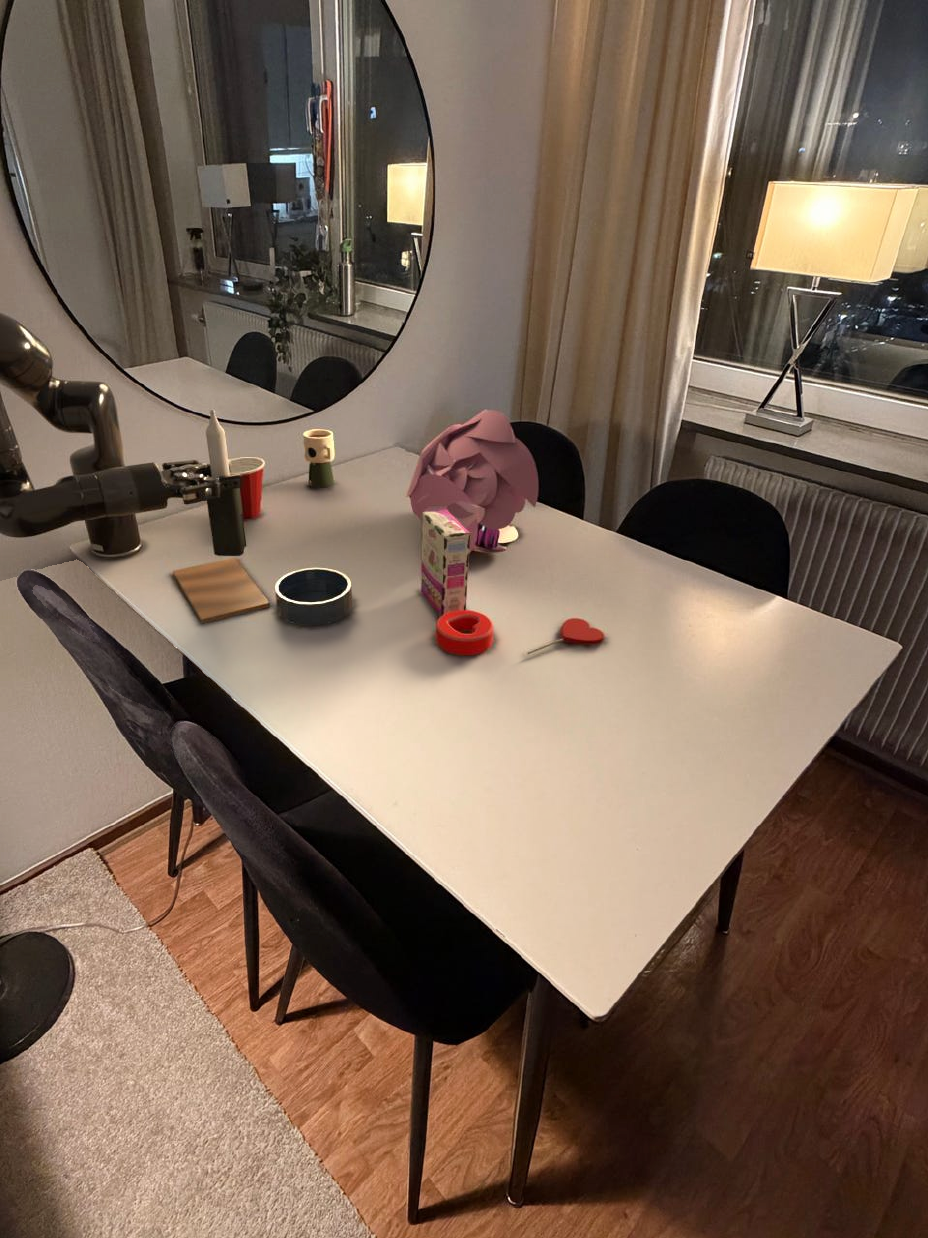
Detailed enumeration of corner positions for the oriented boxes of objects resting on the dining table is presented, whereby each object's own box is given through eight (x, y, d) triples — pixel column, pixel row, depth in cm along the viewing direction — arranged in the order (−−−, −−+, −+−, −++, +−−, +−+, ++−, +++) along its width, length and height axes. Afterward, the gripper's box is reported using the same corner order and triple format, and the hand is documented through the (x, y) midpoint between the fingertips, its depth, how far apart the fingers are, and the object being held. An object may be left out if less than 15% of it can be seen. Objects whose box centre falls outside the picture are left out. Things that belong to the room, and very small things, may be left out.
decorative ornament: (432, 626, 129) (432, 610, 127) (485, 622, 130) (486, 607, 129) (441, 657, 121) (441, 641, 119) (498, 652, 122) (499, 637, 121)
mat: (173, 574, 141) (172, 571, 140) (235, 561, 146) (234, 557, 146) (202, 623, 127) (201, 619, 126) (269, 606, 132) (269, 602, 132)
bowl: (267, 599, 134) (264, 577, 132) (334, 582, 140) (332, 561, 138) (293, 633, 125) (291, 611, 123) (364, 614, 131) (363, 592, 129)
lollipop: (543, 667, 119) (609, 640, 127) (544, 662, 119) (610, 635, 126) (512, 644, 125) (577, 619, 132) (512, 639, 124) (577, 614, 132)
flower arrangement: (551, 568, 160) (594, 442, 147) (477, 582, 143) (518, 442, 130) (444, 503, 179) (474, 387, 166) (368, 509, 162) (395, 381, 150)
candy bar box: (467, 616, 132) (471, 532, 123) (441, 621, 130) (444, 536, 122) (444, 587, 141) (446, 507, 132) (419, 591, 139) (420, 511, 130)
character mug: (298, 480, 184) (293, 429, 177) (323, 475, 188) (320, 425, 181) (319, 495, 177) (315, 442, 170) (345, 489, 181) (342, 437, 174)
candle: (218, 543, 133) (199, 404, 120) (247, 543, 134) (231, 405, 120) (213, 556, 129) (192, 413, 116) (242, 556, 129) (225, 414, 116)
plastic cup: (232, 503, 171) (225, 453, 164) (277, 507, 170) (272, 457, 163) (212, 522, 161) (204, 469, 155) (259, 526, 160) (253, 474, 154)
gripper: (136, 482, 110) (246, 466, 118) (117, 453, 120) (219, 440, 128) (145, 528, 114) (251, 509, 122) (126, 496, 124) (225, 480, 132)
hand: (234, 473), depth 125 cm, fingers closed on candle, 6 cm apart
